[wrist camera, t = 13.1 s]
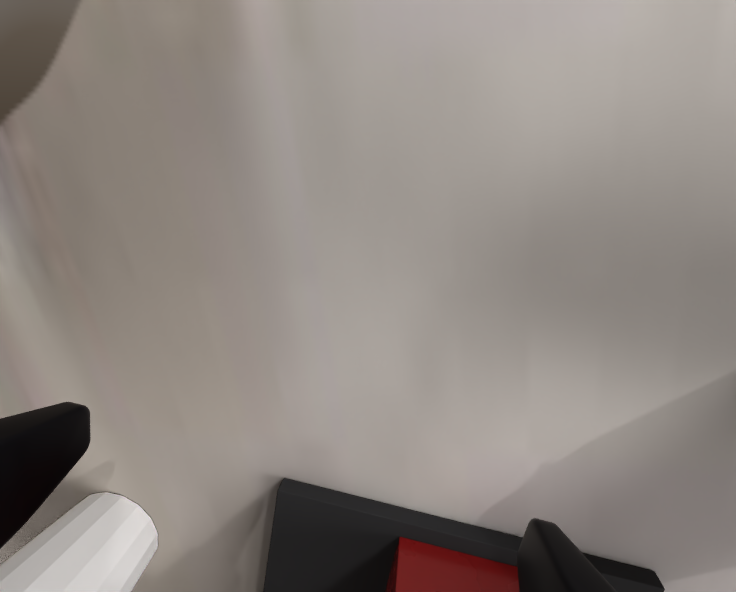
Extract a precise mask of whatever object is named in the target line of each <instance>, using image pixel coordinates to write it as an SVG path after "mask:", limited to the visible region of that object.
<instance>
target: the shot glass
mask: <svg viewBox="0 0 736 592" xmlns="http://www.w3.org/2000/svg"><path fill="white" fill-rule="evenodd" d="M157 547H158V532H157V530H156V528H155V526H154V524H153V521H152V519H151V518H150V517H149V515H148V514H147V513H146V512H145V511H144V510H143V509H142V508H141V507H140V506H139V505H138V504H136V503H134V502H133V501H131V500H129V499H127V498H126V497H124V496H121V495H117V494H112V493H108V492H103V493H96V494H91V495H89V496H88V497H86V498H85V499H83V500H82V501H80V502H79V503H78V504H77V505H75V506H74V507H73V508H72V509H70V510H69V511H68V512H66V513H65V514H64V515H63V516H61V517H60V518H59V519H58V520H56V521H55V522H54V523H53V524H51V525H50V526H49V527H47V528H46V529H45V530H44V531H42V532H41V533H40V534H39V535H37V536H36V537H35V538H33V539H32V540H31V541H30V542H28V543H27V544H26V545H25V546H23V547H22V548H21V549H20V550H18V551H17V552H16V553H14V554H13V555H12V556H11V557H9V558H8V559H7V560H6V561H4V562H3V563H2V564H1V565H0V592H131V591H132V590H133V588H134V586H135V585H136V583H137V581H138V580H139V578H140V576H141V575H142V573H143V571H144V570H145V568H146V566H147V565H148V563H149V561H150V560H151V558H152V556H153V555H154V553H155V551H156V549H157Z"/></svg>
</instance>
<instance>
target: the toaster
mask: <svg viewBox="0 0 736 592" xmlns="http://www.w3.org/2000/svg"><path fill="white" fill-rule="evenodd" d="M385 592H520V591H519V580H518V569H517V567H516V566H512V565H508V564H504V563H501V562H497V561H493V560H489V559H485V558H481V557H477V556H473V555H470V554H466V553H462V552H458V551H454V550H450V549H446V548H443V547H439V546H435V545H431V544H427V543H423V542H419V541H415V540H412V539H408V538H404V537H399V540H398V544H397V548H396V552H395V555H394V559H393V563H392V567H391V571H390V575H389V579H388V583H387V586H386V590H385Z"/></svg>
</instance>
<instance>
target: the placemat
mask: <svg viewBox="0 0 736 592" xmlns="http://www.w3.org/2000/svg"><path fill="white" fill-rule="evenodd" d="M399 537H404V538H408V539H412V540H415V541H419V542H423V543H427V544H431V545H435V546H439V547H443V548H446V549H450V550H454V551H458V552H462V553H466V554H470V555H473V556H477V557H481V558H485V559H489V560H493V561H497V562H501V563H504V564H508V565H512V566H516V567H517V555H518V550H519V548H520V545H521V542H522V539H523V538H520V537H516V536H512V535H508V534H504V533H500V532H496V531H492V530H488V529H484V528H480V527H476V526H472V525H468V524H464V523H461V522H457V521H453V520H449V519H445V518H441V517H437V516H433V515H429V514H425V513H421V512H417V511H413V510H409V509H405V508H401V507H397V506H393V505H389V504H385V503H381V502H377V501H374V500H370V499H366V498H362V497H358V496H354V495H350V494H346V493H342V492H338V491H334V490H330V489H326V488H322V487H318V486H314V485H310V484H306V483H302V482H298V481H294V480H290V479H287V478H284V479H283V481H282V483H281V485H280V487H279V489H278V493H277V500H276V507H275V514H274V521H273V528H272V535H271V542H270V549H269V556H268V563H267V570H266V577H265V584H264V591H263V592H385V590H386V586H387V583H388V579H389V575H390V571H391V567H392V563H393V559H394V555H395V552H396V548H397V544H398V540H399ZM582 554H583V553H582ZM583 555H584V556H585V557H586V558H587V559H588V560H589V562H590V563H591V564H592V565H593V566H594V567H595V568H596V569H597V570H598V571H599V573H600V574H601V575H602V576H603V577H604V578H605V579H606V580H607V581H608V583H609V584H610V585H611V586H612V587H613V588H614V589H615V590H616V591H617V592H664V590H665V589H664V587H663V585H662V583H661V582H660V580H659V578H658V577H657V575H656V573H655V572H654V571H650V570H646V569H642V568H639V567H635V566H631V565H627V564H623V563H619V562H615V561H611V560H607V559H603V558H599V557H595V556H591V555H587V554H583Z"/></svg>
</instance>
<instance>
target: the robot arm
mask: <svg viewBox="0 0 736 592" xmlns="http://www.w3.org/2000/svg"><path fill="white" fill-rule="evenodd" d="M89 443H90V411H89V409H88V408H87V407H86V406H84V405H80V404H76V403H72V402H64V403H60V404H56V405H52V406H48V407H44V408H40V409H36V410H33V411H29V412H25V413H21V414H17V415H13V416H9V417H5V418H1V419H0V549H1V548H2V547H3V546H4V545H5V544H6V543H7V542H8V541H9V540H10V539H11V538H12V537H13V535H14V534H15V533H16V532H17V531H18V530H19V529H20V528H21V527H22V526H23V525H24V524H25V523H26V522H27V521H28V520H29V519H30V517H31V516H32V515H33V514H34V513H35V512H36V511H37V509H38V508H39V507H40V506H41V505H42V504H43V502H44V501H45V500H46V499H47V498H48V496H49V495H50V494H51V493H52V492H53V490H54V489H55V488H56V487H57V486H58V484H59V483H60V482H61V481H62V480H63V478H64V477H65V476H66V475H67V474H68V472H69V471H70V470H71V469H72V468H73V466H74V465H75V464H76V463H77V462H78V460H79V459H80V458H81V457H82V456H83V455H84V453H85V452H86V450H87V448H88V446H89ZM517 569H518V580H519V591H520V592H617V591H616V590H615V589H614V588H613V587H612V586H611V585H610V584H609V583H608V581H607V580H606V579H605V578H604V577H603V576H602V575H601V574H600V573H599V571H598V570H597V569H596V568H595V567H594V566H593V565H592V564H591V563H590V562H589V560H588V559H587V558H586V557H585V556H584V555H583V554H582V553H581V552H580V550H579V549H578V548H577V547H576V546H575V545H574V544H573V543H572V542H571V540H570V539H569V538H568V537H567V536H566V535H565V534H564V533H563V532H562V531H561V529H560V528H559V527H558V526H557V525H556V524H554V523H552V522H548V521H544V520H540V519H536V518H534V519H531V520H530V522H529V524H528V526H527V529H526V531H525V534H524V537H523V539H522V542H521V545H520V548H519V550H518V555H517Z"/></svg>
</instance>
